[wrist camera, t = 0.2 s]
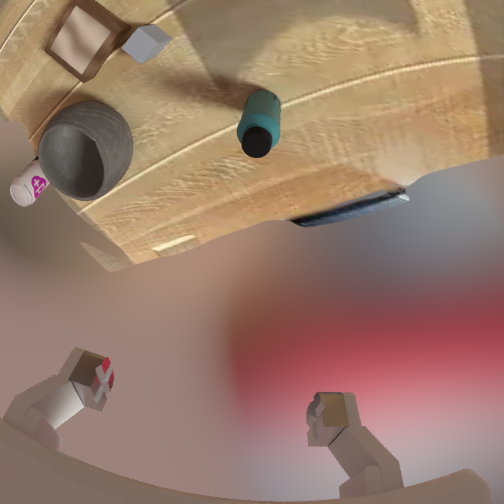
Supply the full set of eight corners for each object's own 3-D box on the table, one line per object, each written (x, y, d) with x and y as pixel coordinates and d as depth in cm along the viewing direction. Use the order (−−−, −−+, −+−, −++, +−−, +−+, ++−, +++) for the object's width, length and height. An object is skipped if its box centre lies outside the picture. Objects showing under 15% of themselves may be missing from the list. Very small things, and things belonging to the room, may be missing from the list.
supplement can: (61, 151, 60) (27, 185, 50) (63, 176, 66) (33, 211, 55) (39, 146, 58) (5, 179, 48) (42, 170, 64) (12, 204, 54)
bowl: (57, 128, 55) (20, 161, 45) (102, 70, 45) (59, 94, 35) (110, 182, 67) (82, 222, 57) (164, 136, 57) (135, 173, 47)
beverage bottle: (240, 105, 51) (220, 151, 37) (260, 79, 47) (249, 114, 33) (267, 123, 53) (260, 176, 40) (289, 99, 49) (291, 143, 35)
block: (154, 24, 38) (138, 27, 34) (172, 39, 41) (158, 43, 36) (138, 42, 41) (121, 48, 36) (155, 57, 44) (140, 64, 39)
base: (88, -5, 31) (75, -4, 29) (131, 27, 39) (120, 30, 36) (55, 46, 39) (43, 51, 36) (93, 77, 46) (82, 83, 43)
